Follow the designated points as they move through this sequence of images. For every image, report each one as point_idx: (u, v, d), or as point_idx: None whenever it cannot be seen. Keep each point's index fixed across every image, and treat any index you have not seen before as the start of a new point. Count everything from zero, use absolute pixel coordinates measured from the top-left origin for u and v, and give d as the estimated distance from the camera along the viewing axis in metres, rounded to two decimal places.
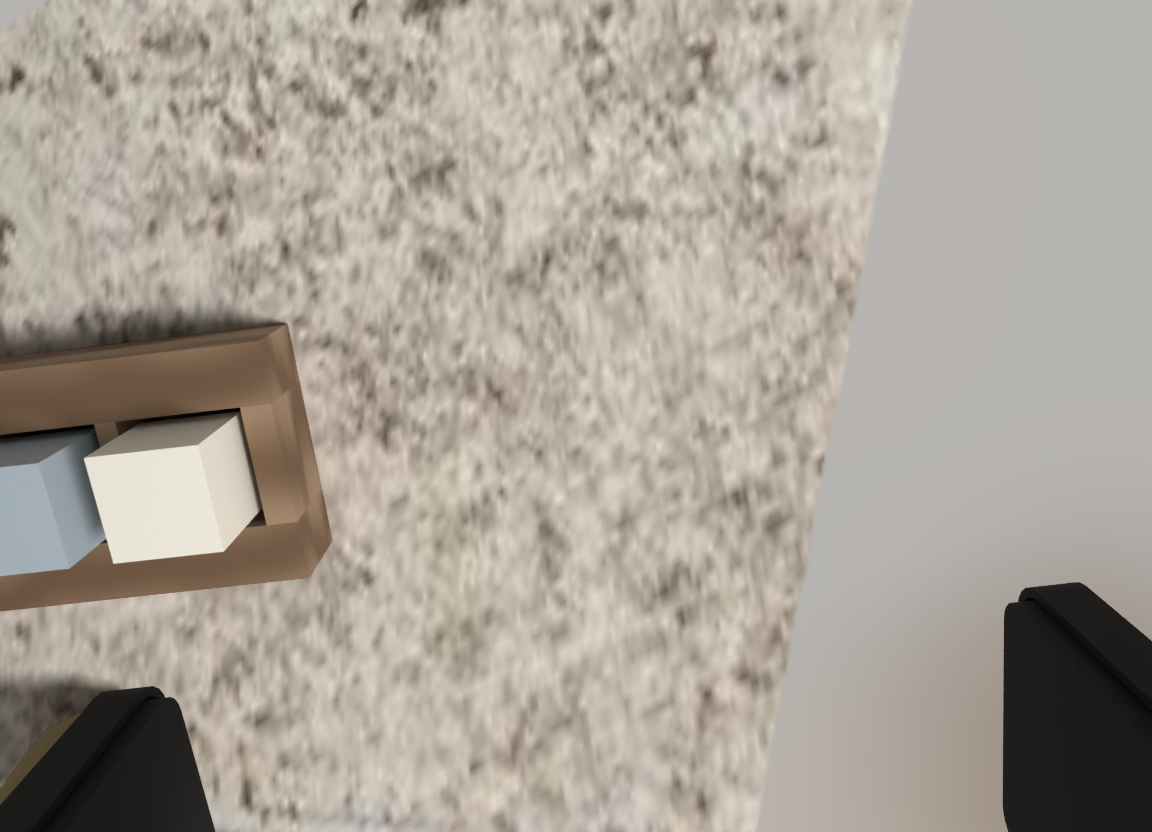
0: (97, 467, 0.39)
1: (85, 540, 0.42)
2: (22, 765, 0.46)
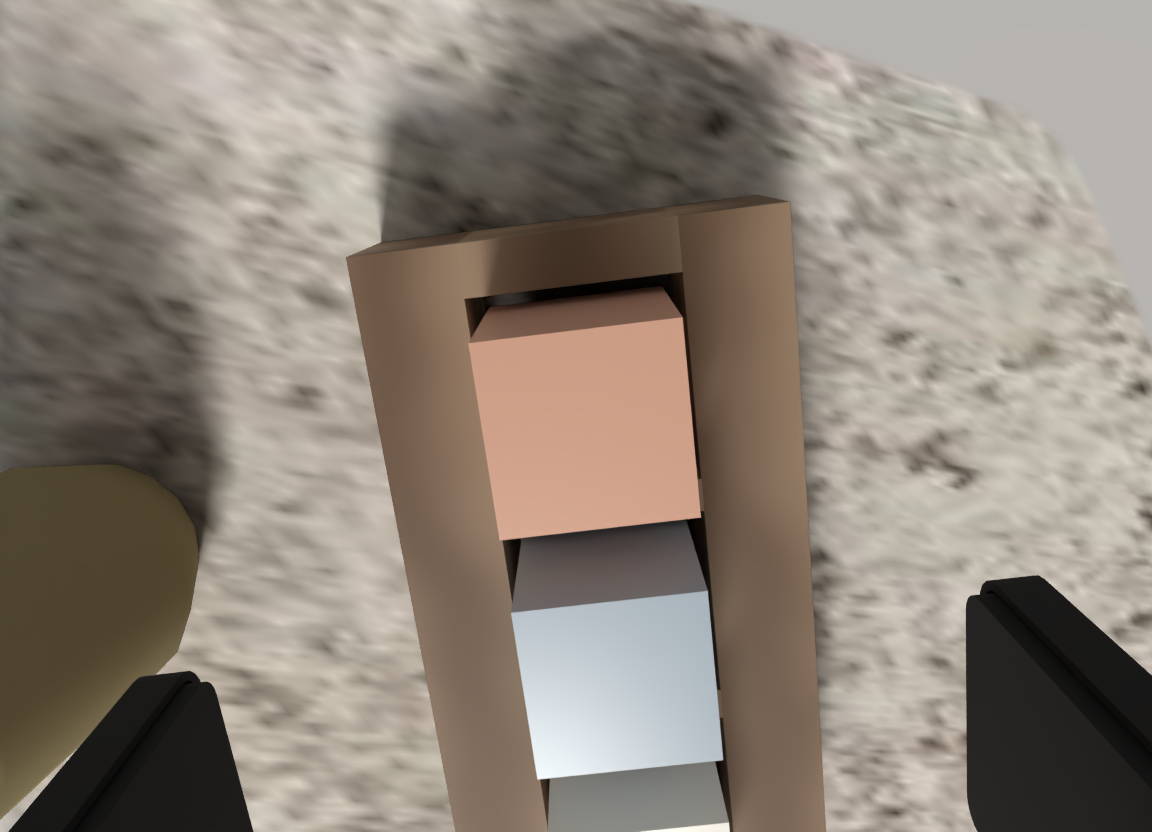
0: None
1: None
2: (106, 567, 0.25)
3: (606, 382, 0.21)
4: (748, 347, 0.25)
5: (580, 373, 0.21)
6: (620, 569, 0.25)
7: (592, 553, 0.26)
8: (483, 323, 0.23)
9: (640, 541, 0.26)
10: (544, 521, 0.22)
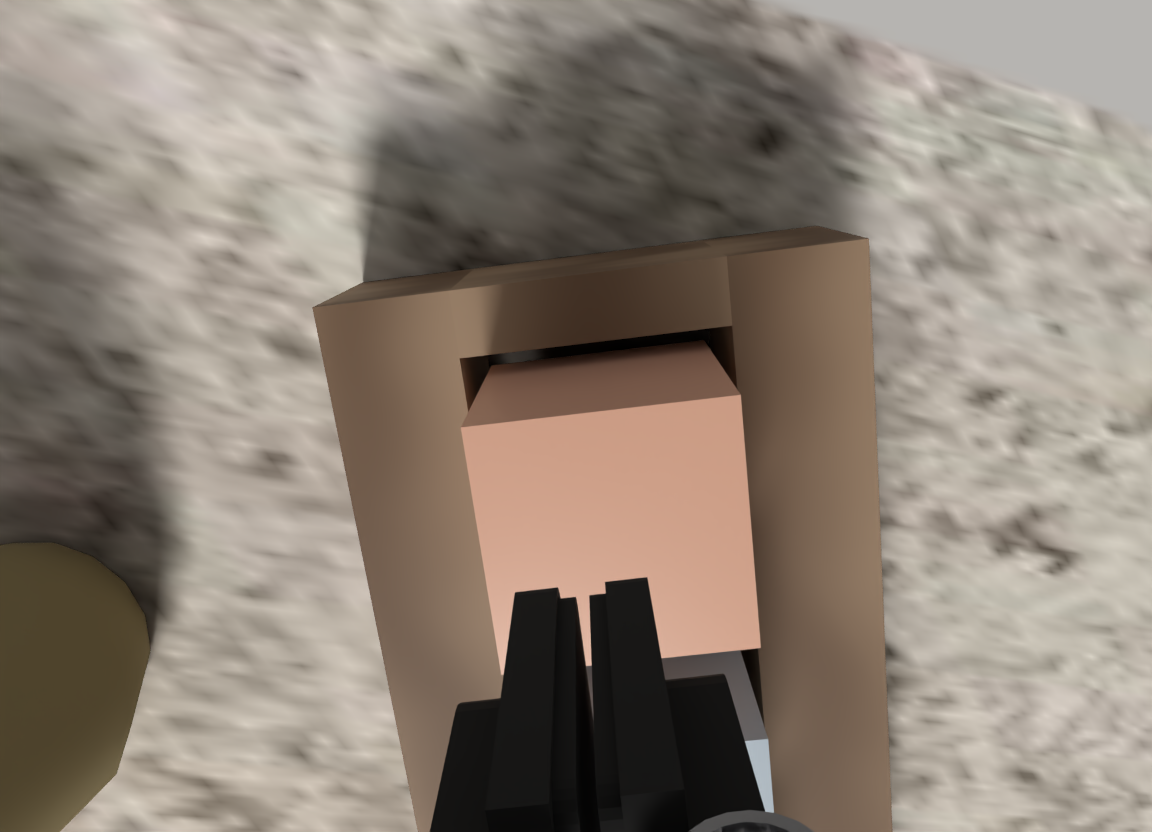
0: None
1: None
2: (15, 690, 0.20)
3: (640, 478, 0.16)
4: (813, 418, 0.20)
5: (605, 467, 0.16)
6: None
7: None
8: (482, 392, 0.19)
9: None
10: None
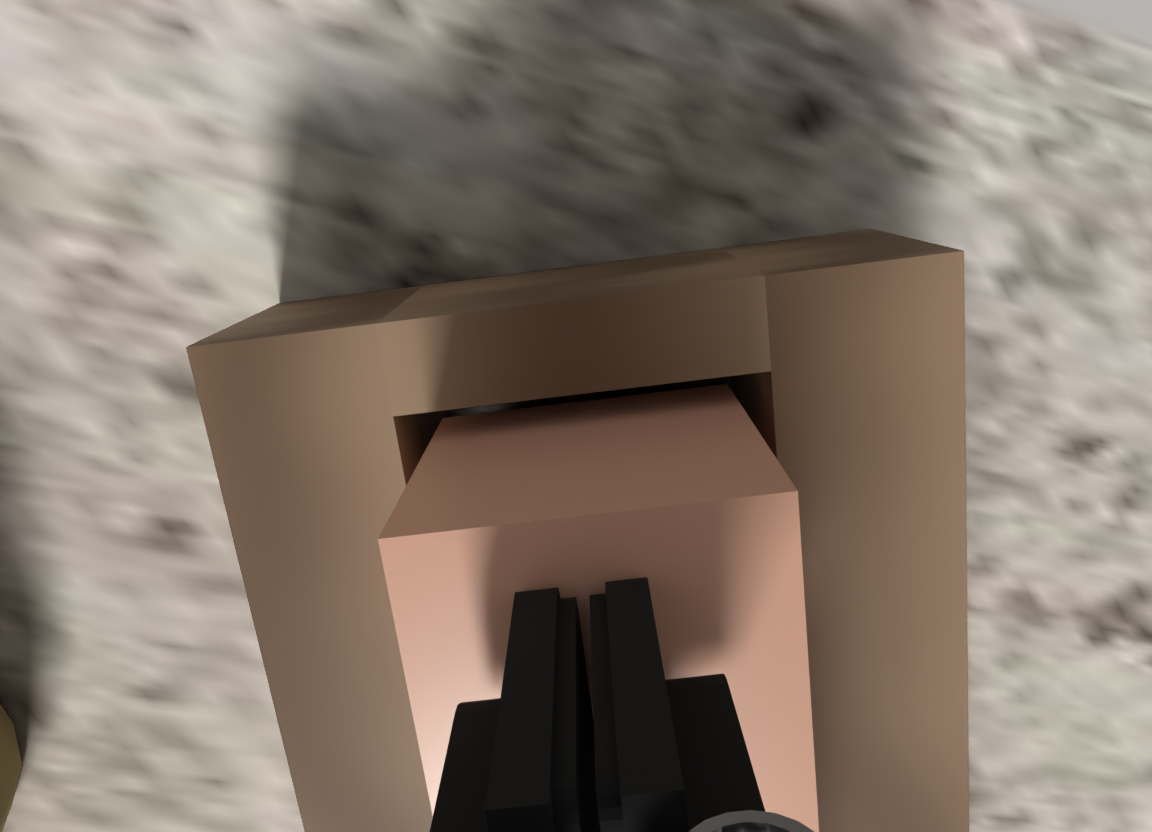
0: None
1: None
2: None
3: None
4: (880, 497, 0.15)
5: (595, 594, 0.11)
6: None
7: None
8: (422, 468, 0.13)
9: None
10: None
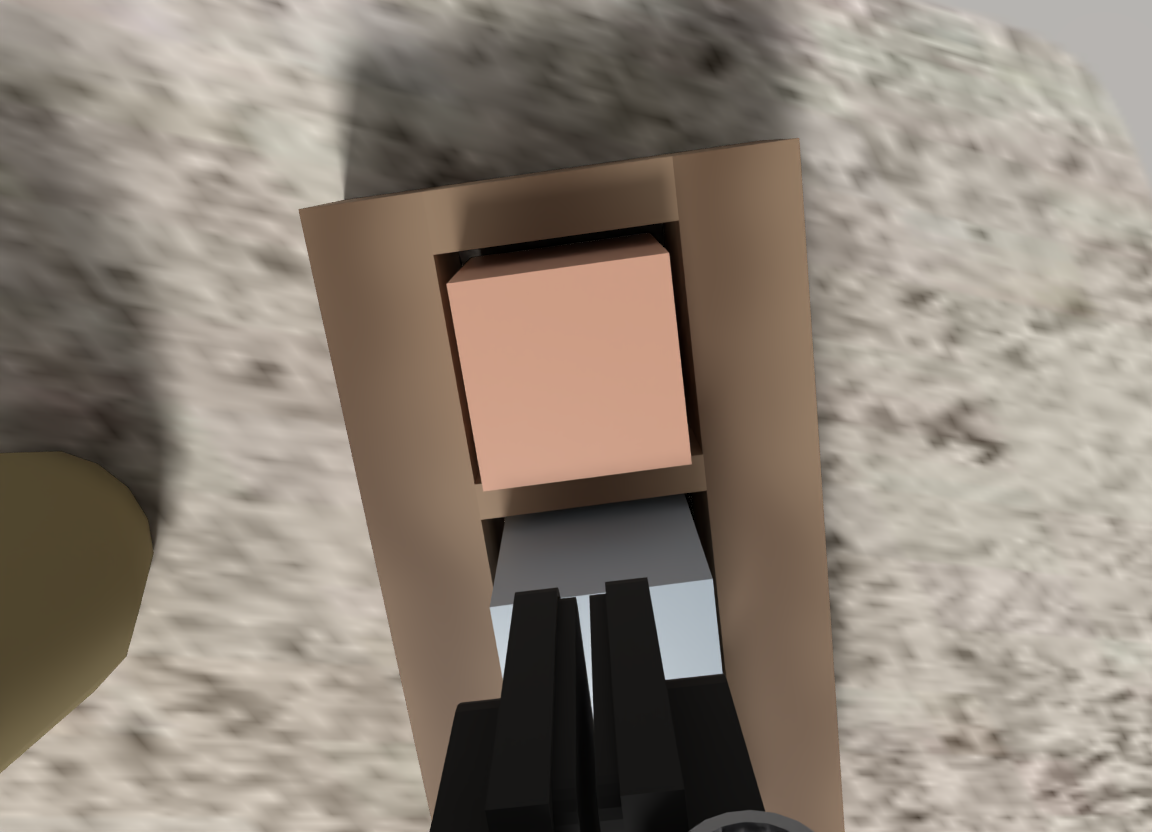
0: None
1: None
2: (35, 563, 0.22)
3: (591, 323, 0.20)
4: (753, 305, 0.22)
5: (563, 314, 0.20)
6: (614, 556, 0.22)
7: (583, 539, 0.23)
8: (463, 269, 0.23)
9: (636, 525, 0.23)
10: (529, 470, 0.21)
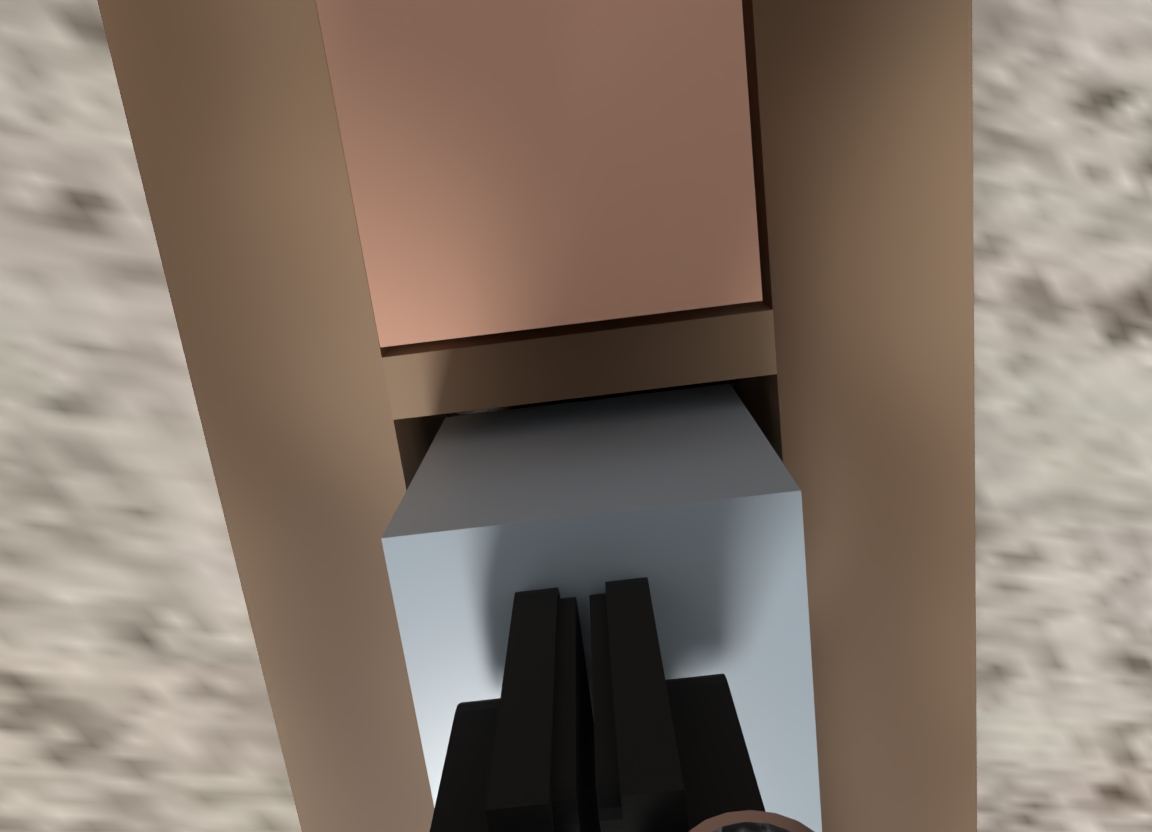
0: None
1: None
2: None
3: (581, 14, 0.11)
4: (871, 33, 0.13)
5: None
6: (616, 462, 0.12)
7: (564, 441, 0.14)
8: None
9: (654, 423, 0.14)
10: (464, 308, 0.12)
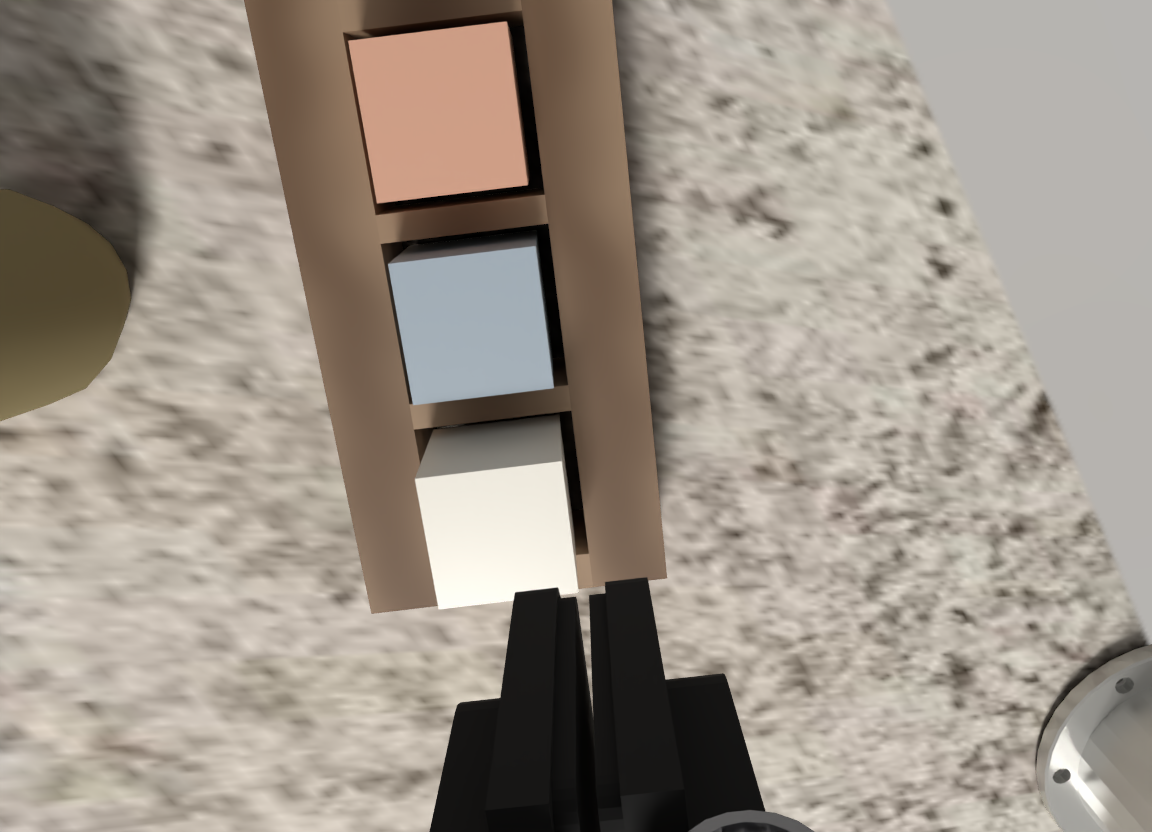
0: (549, 476, 0.31)
1: None
2: (45, 254, 0.30)
3: (453, 74, 0.29)
4: (578, 77, 0.31)
5: (432, 66, 0.29)
6: (476, 247, 0.32)
7: (459, 245, 0.33)
8: None
9: (497, 239, 0.34)
10: (410, 187, 0.30)
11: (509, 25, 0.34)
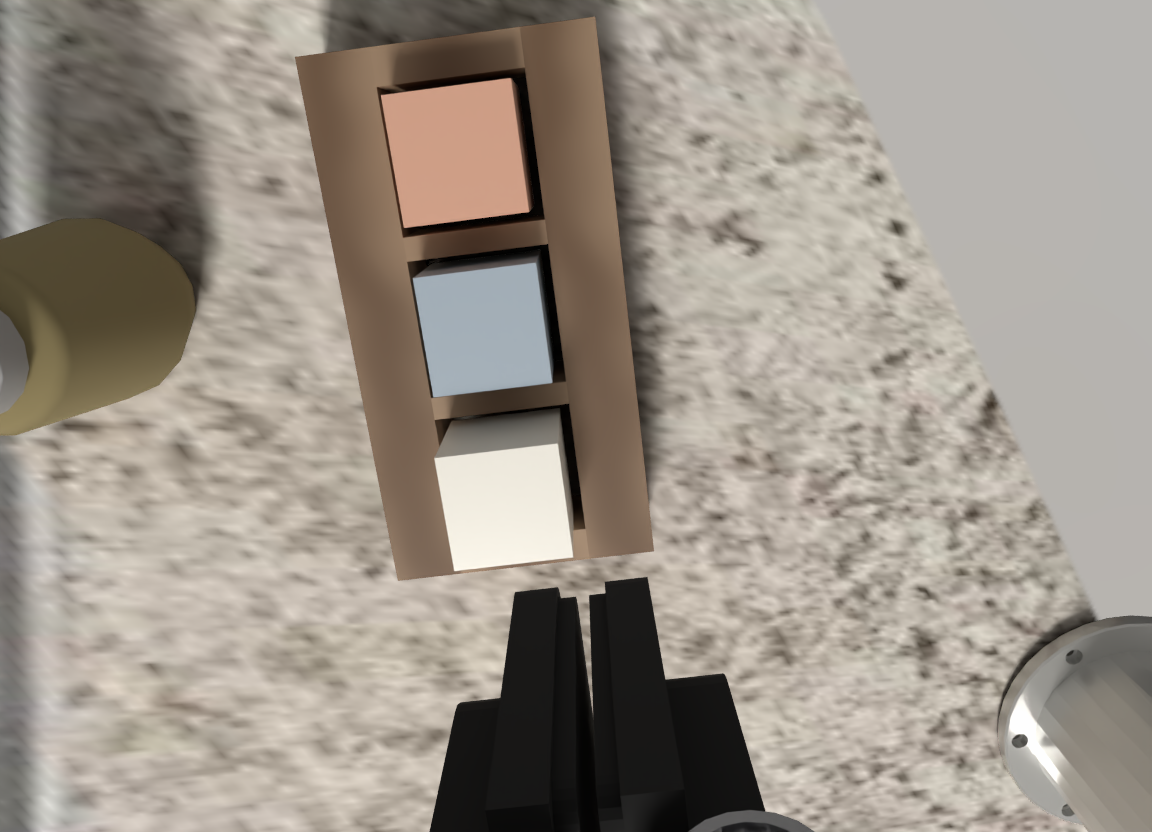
0: (547, 456, 0.36)
1: None
2: (132, 272, 0.36)
3: (466, 121, 0.35)
4: (572, 122, 0.37)
5: (449, 115, 0.35)
6: (487, 264, 0.38)
7: (473, 263, 0.39)
8: None
9: (506, 258, 0.40)
10: (431, 214, 0.36)
11: (516, 77, 0.40)
